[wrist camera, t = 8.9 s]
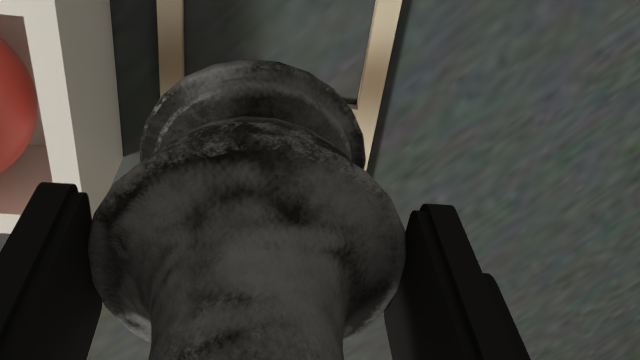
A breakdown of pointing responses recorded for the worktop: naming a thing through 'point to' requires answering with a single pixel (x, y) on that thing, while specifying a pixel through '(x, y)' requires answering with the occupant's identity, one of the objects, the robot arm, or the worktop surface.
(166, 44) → the game track
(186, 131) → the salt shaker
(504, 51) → the worktop surface
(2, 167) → the pop dome
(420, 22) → the worktop surface
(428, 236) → the robot arm
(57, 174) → the dome housing
